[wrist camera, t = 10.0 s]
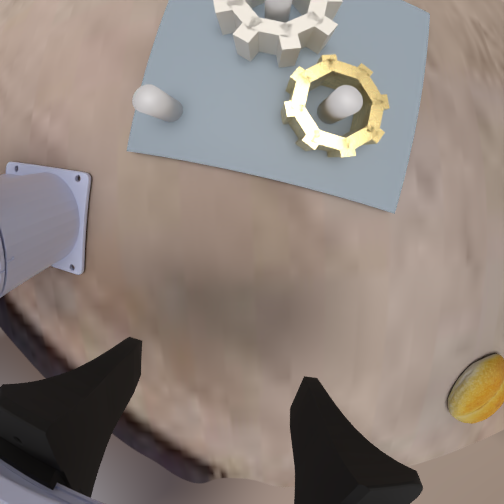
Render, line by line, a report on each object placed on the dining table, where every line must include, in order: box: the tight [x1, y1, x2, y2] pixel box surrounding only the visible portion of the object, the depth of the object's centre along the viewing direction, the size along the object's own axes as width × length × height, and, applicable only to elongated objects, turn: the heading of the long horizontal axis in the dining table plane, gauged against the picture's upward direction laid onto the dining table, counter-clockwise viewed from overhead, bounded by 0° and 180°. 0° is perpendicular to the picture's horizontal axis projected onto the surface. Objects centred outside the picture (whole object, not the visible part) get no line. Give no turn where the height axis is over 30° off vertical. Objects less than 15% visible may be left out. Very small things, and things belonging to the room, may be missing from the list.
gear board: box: [127, 0, 430, 214], centre depth 15 cm, size 18×16×6 cm
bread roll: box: [448, 354, 504, 424], centre depth 23 cm, size 8×9×4 cm
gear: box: [213, 0, 343, 68], centre depth 14 cm, size 7×7×3 cm
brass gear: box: [280, 54, 390, 157], centre depth 16 cm, size 6×6×3 cm
